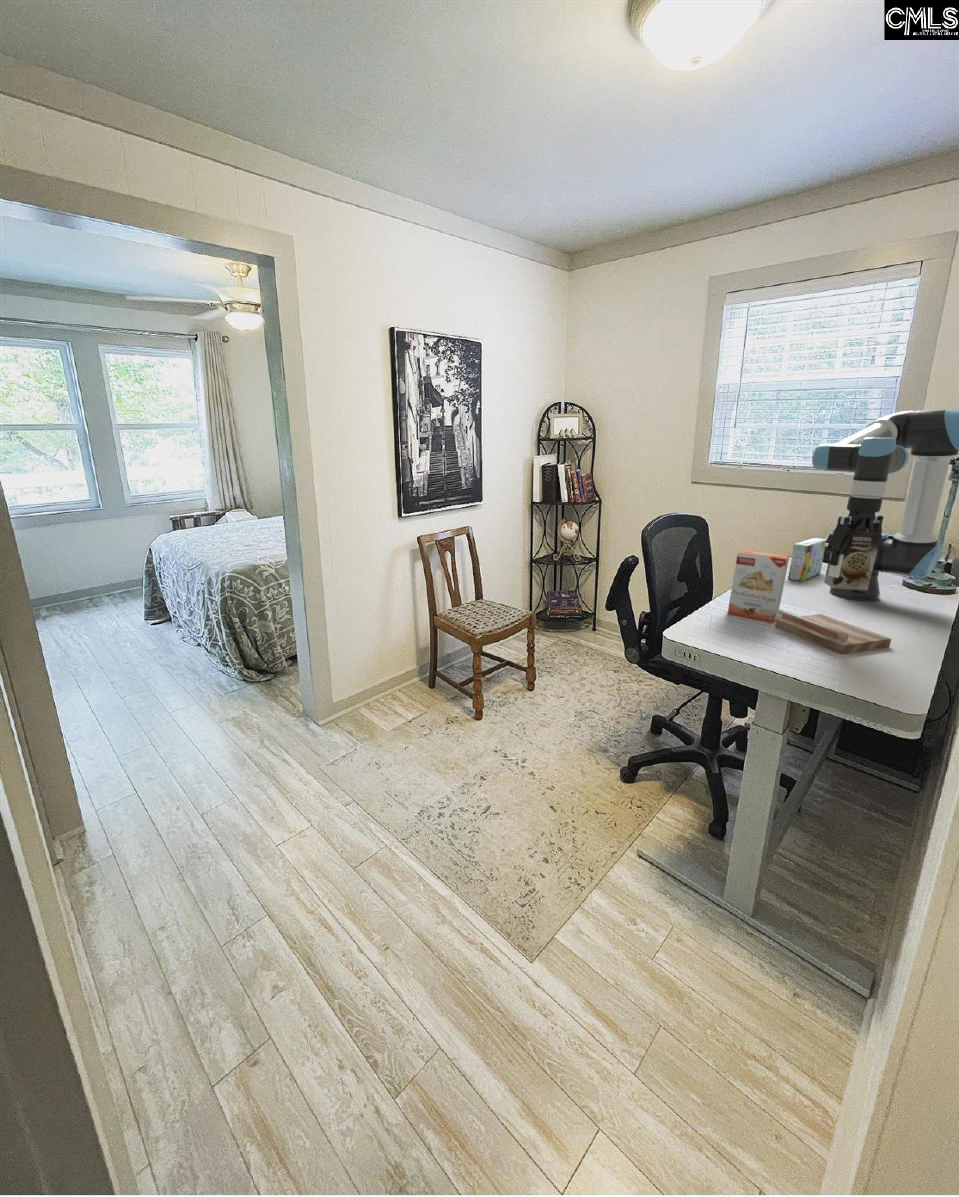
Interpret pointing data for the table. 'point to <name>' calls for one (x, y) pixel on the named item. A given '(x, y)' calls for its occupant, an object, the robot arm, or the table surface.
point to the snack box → (807, 559)
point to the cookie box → (856, 561)
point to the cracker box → (758, 585)
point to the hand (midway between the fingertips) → (848, 575)
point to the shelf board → (830, 633)
